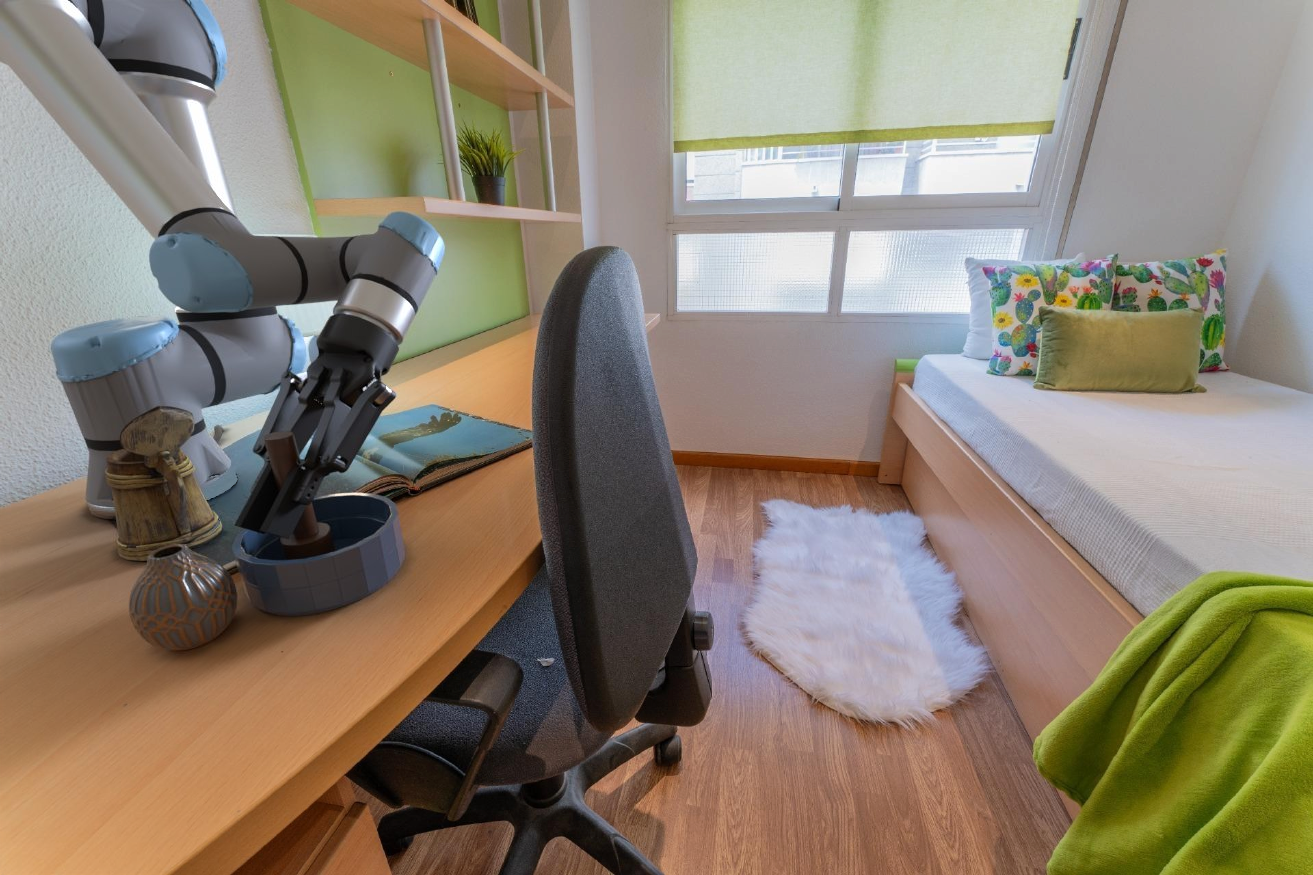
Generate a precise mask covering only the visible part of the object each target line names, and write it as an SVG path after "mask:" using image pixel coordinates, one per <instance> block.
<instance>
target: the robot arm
mask: <svg viewBox="0 0 1313 875" xmlns="http://www.w3.org/2000/svg"><path fill="white" fill-rule="evenodd" d="M213 14H214V13H212V11H211V9H210V7H208V6H207V4H206V3H205V2H204V0H0V63H2V64H4V65H7V66H8V67H9V68H10V70H12V72H13V73H14V74H15V75H16V76H17V77H18V79H19V80H20V81H21V82H22V84H23V85H24V86H25V87H26V88H27V90H28V91H29V92H30V93H31V94H32V96H34V98H35V99H36V100H37V102H38V103H39V104H40V105H41V106H42V107H43V109H44V110H45V111H46V113H48V114H49V116H50V117H51V118H52V119H53V120H54V122H55V123H56V124H57V125H58V127H60V129H61V130H62V131H63V132H64V134H65V135H66V136H67V137H68V138H69V139H70V141H71V142H72V143H73V144H74V145H75V146H76V148H77V149H78V150H79V152H81V154H82V155H83V156H84V157H85V158H86V160H87V161H88V162H89V163H90V165H92V167H93V169H95V170H96V171H97V173H99V175H100V176H101V177H102V179H103V180H104V181H105V182H106V183H107V185H108V186H109V188H111V190H112V191H113V192H114V193H115V194H116V195H117V197H118V198H119V199H120V200H121V201H122V203H123V204H124V205H125V206H126V207H127V209H128V210H129V211H130V212H131V213H132V214H133V216H134V217H135V218H136V219H137V221H139V223H140V224H141V225H142V226H143V227H144V229H145V230H146V231H147V232H148V233H149V235H150V236H151V237H152V238H153V239H154V240H153V241H152V244H151V245H150V249H149V252H148V253H149V254H148V261H149V267H150V271H151V274H152V276H153V277H154V278H155V279H156V281H157V284H158V286H157V287H158V289H159V291H160V293H162V295H163V296H164V297H165V298H166V299H167V300H168V301H169V302H170V303H172V304H173V305H174V306H175V309H174V313H175V315H176V318H177V320H178V323H176V322H175V320H174V319H173V318H171V317H170V316H167V315H166V316H165V315H140V316H133V317H129V318H128V317H127V318H125V317H123V318H115V319H109V320H103V321H98V322H92V323H89V324H84V325H81V326H76V327H73V328H70V329H67V330H65V331H63V332H61V333H59V334H58V335H57V336H55V337H54V338H53V340H51V343H50V352H51V355H52V358H53V362H54V364H55V365H54V366H55V369H56V371H55V375H56V378H57V379H58V380H59V381H60V383H61V385H62V387H63V390H64V392H65V396H66V397H67V400H68V403H69V404H70V407H71V410H72V412H73V415H74V418H75V420H76V423H77V425H78V427H79V430H80V432H81V433H80V434H81V436H82V437H83V439H84V442H85V445H86V448H87V450H88V451H87V452H88V466H87V474H86V475H87V476H86V477H87V478H86V487H85V502H86V504H87V506H88V509H89V511H90V513H91V514H92V515H93V516H94V517H96V518H101V519H105V520H116V515H115V508H114V501H113V495H112V489H111V486H110V485H108V483H107V480H106V473H105V471H106V469H107V468H108V466H107V461H106V458H107V457H108V456H109V455H110V454H111V453H113V452H115V451H118V450H121V449H123V447H122V446H121V443H120V434H121V431H122V430H123V429H124V427H125V426H126V425H127V424H128V423H129V422H131V421H132V420H133V419H135V418H136V417H138V416H140V415H142V414H143V413H145V412H147V411H149V410H151V409H153V408H155V407H157V406H171V407H176V408H180V409H184V410H187V411H189V412H191V413H192V414H193V417H194V431H193V432H192V434H191V436H190V438H189V439H188V440H187V441H186V442H185V443H184V444H183V445H182V446H181V447H180V449H181V451H182V452H183V454H184V455H187V456H188V458H189V459H190V461H191V462H192V464H193V465H194V467H195V470H194V472H192V473H193V475H194V477H195V480H196V482H197V484H198V485H199V487H200V489H204V487H206V486H207V485H210V483H213V481H216V480H217V479H219V477H220V476H222V475H223V474H225V472H227V471H228V470H229V468H230V466H231V462H232V460H231V459H230V458H229V457H228V455H227V454H226V453H225V451H224V450H223V449H222V447H221V446H220V445H219V444H218V442H220V441H221V439H222V436H223V433H224V432H225V429H224V427H223V426H222V425H219V424H215V425H214V427H213V431H214V435H213V436H212V435H211V434H210V432H209V430H208V427H207V425H206V421H205V417H204V414H203V411H202V410H203V409H206V408H211V407H215V406H218V405H219V406H220V405H222V404H228V403H230V402H234V401H238V400H243V399H247V398H252V397H256V396H259V395H270V394H272V393H274V392H275V391H278V392H277V395H276V397H275V399H274V402H273V404H272V406H271V408H270V410H269V412H268V415H267V417H266V419H265V421H264V423H263V426H262V428H261V430H260V432H259V435H258V436H257V438H256V441H255V443H254V445H253V448H252V452H253V453H254V454H256V455H258V456H259V457H260V458H261V459H263V461H264V462H263V466H262V468H261V469H260V471H259V473H258V474H257V477H256V479H255V480H254V482H253V484H252V486H251V489H250V495H249V498H248V499H247V501H246V502H245V505H244V506H243V508H242V510H241V512H240V514H239V515H238V518H237V520H236V521H235V523H234V526H235V527H238V528H240V529H241V528H242V529H243V528H244V529H248V530H251V531H254V532H257V533H262V534H265V532H266V533H269V534H272V535H275V536H279V537H282V538H286V539H290V537H291V535H292V533H293V531H294V529H295V527H296V525H297V523H298V521H299V519H300V517H301V515H302V513H303V511H304V509H305V507H306V505H308V506H309V505H310V503H311V502H312V501H313V499H314V498H315V497H316V495H317V493H318V491H319V489H320V487H321V485H322V483H323V481H324V479H325V477H328V476H329V475H330V474H333V473H340V474H345V473H346V472H347V471H348V470H349V469H350V467H351V465H352V464H353V461H355V459H356V457H357V455H358V453H359V451H360V450H361V449H362V446H363V445H364V443H365V441H366V439H367V438H368V437H369V435H370V433H371V431H372V430H373V429H374V426H375V425H376V423H377V421H378V419H379V418H380V416H381V414H382V413H383V411H384V410H386V408H387V407H388V406H389V405H390V404H391V403H392V402H393V401H395V399H396V398H397V393H396V392H395V391H394V390H392V388H390V387H389V386H388V385H386V384H385V383H384V382H383V381H382V377H383V376H386V375H387V374H388V373H389V372H390V370H391V368H392V365H394V362H395V360H396V358H397V356H398V354H399V351H400V347H399V346H401V345H402V344H403V342H404V340H405V338H406V336H407V334H408V332H409V330H410V328H411V325H412V323H413V321H414V319H415V317H416V315H417V313H418V312H419V309H420V307H421V305H422V304H423V301H424V299H425V297H426V295H427V293H428V292H429V289H430V287H431V286H432V283H433V281H434V279H435V278H436V276H437V275H438V274H439V269H440V267H441V266H440V265H441V263H442V261H443V257H444V256H445V251H446V246H445V242H444V240H443V237H442V236H441V234H440V233H438V231H437V230H436V229H435V227H434V226H433V225H432V224H430V223H429V221H427V220H425V219H424V218H422V217H420V216H419V215H416V214H414V213H410V212H407V211H399V210H398V211H393V212H390V213H389V214H387V216H386V217H384V219H383V220H382V222H380V223H379V224H378V229H377V231H375V232H374V233H368V234H360V235H353V236H330V237H327V236H326V237H320V236H319V237H318V236H278V235H277V236H275V235H254V234H252V233H251V232H250V231H249V229H247V227H246V226H245V225H244V224H243V223H242V222H241V221H240V219H239V217H238V214H237V210H236V207H235V206H236V205H235V203H234V200H233V199H234V198H233V196H232V193H231V189H230V185H229V182H228V179H227V174H226V172H225V168H224V164H223V161H222V158H221V154H220V150H219V147H218V144H217V140H216V137H215V133H214V130H213V126H212V123H211V119H210V115H209V113H208V112H209V111H208V108H209V107H210V106H211V105H212V104H213V102H214V101H215V100H216V99H217V92H216V88H215V87H218V86H219V85H221V83H222V82H224V79H225V77H226V74H227V68H226V66H225V65H224V64H227V63H228V52H227V48H226V43H225V39H224V36H223V33H222V31H221V28H220V25H219V24H218V22H217V20H216V18H215V16H214V15H213ZM327 302H336V303H335V304H334V307H333V308H332V315H330V316H329V317H328V319H327V320H326V322H325V323H324V326H323V328H322V329H321V331H320V332H319V334H318V336H317V338H316V339H315V340H316V341H315V343H316V344H315V345H316V348H317V350H318V355H317V357H316V358H315V359H314V360H313V361H311V363H310V364H309V365H308V367H307V369H306V370H305V368H306V364H307V347H306V342H305V339H304V336H303V333H302V332H301V329H300V328H298V327H296V323H295V322H294V320H292V319H291V318H290V317H289V316H286V315H283V314H280V313H278V310H277V307H281V306H282V307H283V306H296V305H297V306H298V305H307V304H316V303H317V304H319V303H327ZM279 431H291V432H293V433H294V437H295V441H296V445H297V448H298V452H299V456H301V454H302V453H303V451H304V449H305V448H306V446H307V445H308V443H309V441H310V440H311V442H310V443H309V444H310V445H309V447H308V449H307V450H306V454H305V456H304V458H300V459H297V464H298V465H300V466H302V467H303V469H302V468H300V467H295V466H293V467H292V469H291V471H290V473H289V475H288V477H287V479H286V481H285V483H284V485H283V487H282V489H281V490H280V492H279V491H278V487H277V484H276V480H275V477H274V473H273V470H272V467H271V463H270V460H269V456H268V453H267V449H266V446H265V442H264V439H263V438H264V436H266V435H268V434H270V433H274V432H279ZM311 438H312V439H311ZM226 470H227V471H226ZM215 475H219V476H218V477H213V478H210V477H211V476H215Z"/></svg>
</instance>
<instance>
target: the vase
mask: <svg viewBox="0 0 1313 875" xmlns="http://www.w3.org/2000/svg"><path fill="white" fill-rule="evenodd" d="M128 600H129V601H128V614H129V618H130V620H131V624H132V625H133V627H134V630H135V631H136V633H137V634H138V635H139V636H140V637H141V638H142V639H143V640H144V641H145V642H146V643H148V644H150V645H151V646H153V647H156V648H158V649H162V650H169V651H187V650H192V649H196V648H198V647H200V646H203V645H205V644H207V643H210V642H212V640H214V639H216V638H217V637H219V636H220V635H221V634H222V633H223V632H225V630H226V629H227V627H228V626H229V625H230V624H231V622H232V620H233V618H234V617H235V615H236V611H237V607H238V590H237V587H236V583H235V582H234V579H233V577H232V575H231V574H230V572H228V570H227V569H226V568H225V567H224V566H223V565H222V564H220V563H219V562H218V561H216V560H214V559H212V558H209V557H208V556H205V555H204V554H203V555H202V554H201V553H197V552H195V551H194V550H193V549H190V548H188V547H187V546H186V545H184V544H172V545H167V546H164V547H161V548H159V549H157V550H155V551H153V552H152V553H151V554H150V555H149V556H148V560H146V564H145V567H144V568H143V570H142V572H141V573H140V575H139V576H138V578H137V579H136V581H135V583H134V584H133V587H132V589H131V590H130V594H129V599H128Z"/></svg>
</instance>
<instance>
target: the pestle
mask: <svg viewBox="0 0 1313 875" xmlns="http://www.w3.org/2000/svg"><path fill="white" fill-rule="evenodd" d="M263 439H264V442H265V446H266V449H267V453H268V456H269V460H270V463H271V467H272V470H273V473H274V477H275V480H276V484H277V487H278V491H279V492H280V490H281V489H282V487H283V485H284V483H285V481H286V479H287V477H288V475H289V473H290V471H291V469H292V467H293V466H295V467H300V468H302V469H304V467H302V466H300V465H298V464H297V459H301V457H300V456H301V455H299V452H298V448H297V445H296V441H295V437H294V433H293V432H291V431H279V432H274V433H270V434H268V435H266V436H264V438H263ZM280 542H281V545H282V548H283V552H284V555H285V558H286V560H295V559H306V558H310V557H315V556H319V555H324V554H328V553H332V552H335V551H336V549H335V545H334V541H333V538H332V534H331V530H330V527H329V525H327V524H325V523H318V522H317V521H316V517H315V513H314V509H313V505H312V502H311V503H310V505H309V506H308V505H306V507H305V509H304V511H303V513H302V515H301V517H300V519H299V521H298V523H297V525H296V527H295V529H294V531H293V533H292V535H291V537H290V539H286V538H282V537H281V539H280Z"/></svg>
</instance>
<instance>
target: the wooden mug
mask: <svg viewBox="0 0 1313 875" xmlns="http://www.w3.org/2000/svg"><path fill="white" fill-rule="evenodd" d="M193 431H194V417H193V414H192V413H191V412H189V411H187V410H184V409H180V408H176V407H171V406H157V407H155V408H153V409H151V410H149V411H147V412H145V413H143V414H142V415H140V416H138V417H136V418H135V419H133V420H132V421H131V422H129V423H128V424H127V425H126V426H125V427H124V429H123V430H122V431H121V434H120V443H121V446H122V447H123V449H121V450H118V451H115V452H113V453H111V454H110V455H109V456H108V457H107V458H106V461H107V466H108V468H107V469H106V471H105V473H106V480H107V483H108V485H110V486H111V489H112V495H113V501H114V508H115V515H116V519H115V521H116V528H117V534H118V538H117V539H116V546H117V554H118V555H119V557H120V558H122V559H123V560H127V561H140V562H144V561H146V562H147V560H148V556H149V555H150V554H151V553H152V552H153V551H155V550H157V549H159V548H161V547H164V546H167V545H172V544H184V545H186V546H187V547H188V548H190V549H191V550H193V549H196V548H199V547H201V546H203V545H205V544H207V543H208V542H211V541H212V540H213V539H214V538H216V537H217V536H218V535H219V534H220V533H221V532H222V529H223V524H222V522H221V521H220V525H219V526H218V527H217V528H216V529H215V530H214V531H213V532H211V531H212V530H213V529H214V528H215V526H216V524H217V522H218V518H219V516H218V514H217V513H216V512H215V511H214V510H212V509H211V507H210V504H209V503H208V501H206V499H205V497H204V495H203V493H202V491H201V489H200V487H199V485H198V484H197V482H196V480H195V477H194V475H193V473H192V472H194V470H195V467H194V465H193V464H192V462H191V461H190V459H189V458H188V456H187V455H184V454H183V452H182V451H181V449H180V447H181V446H182V445H183V444H184V443H185V442H186V441H187V440H188V439H189V438H190V436H191V434H192V432H193ZM210 532H211V533H210ZM209 533H210V534H209ZM206 535H207V536H206Z"/></svg>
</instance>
